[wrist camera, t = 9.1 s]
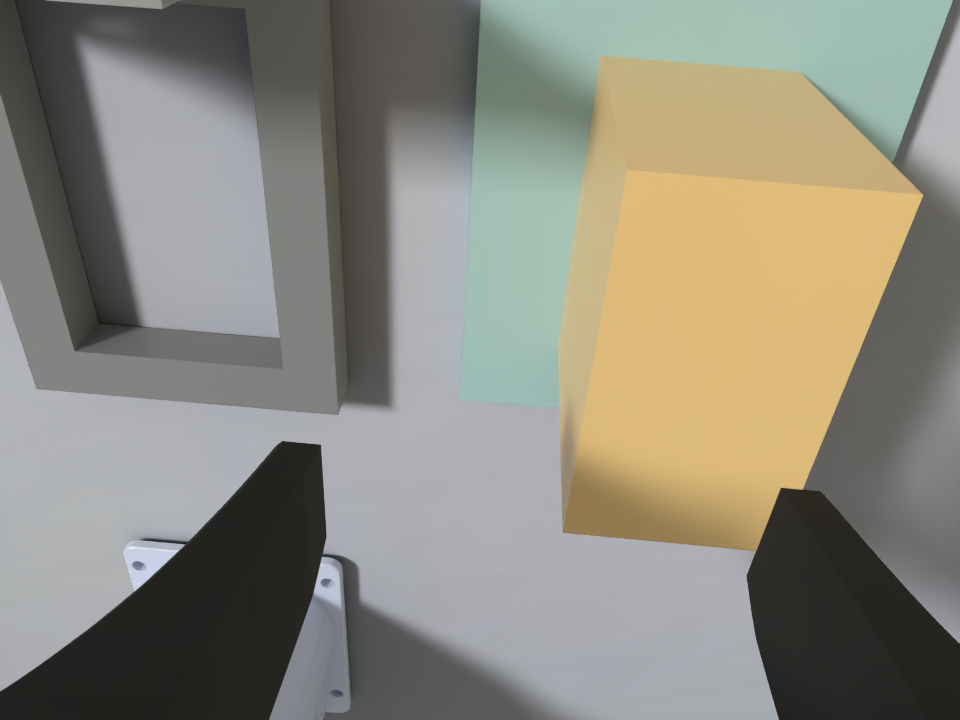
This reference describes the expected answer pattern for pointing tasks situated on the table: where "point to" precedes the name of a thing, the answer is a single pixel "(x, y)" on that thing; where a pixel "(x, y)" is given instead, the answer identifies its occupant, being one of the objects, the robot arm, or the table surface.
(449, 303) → the table surface
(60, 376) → the grey angular piece
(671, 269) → the orange rectangular block
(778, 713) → the robot arm
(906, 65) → the teal pad
